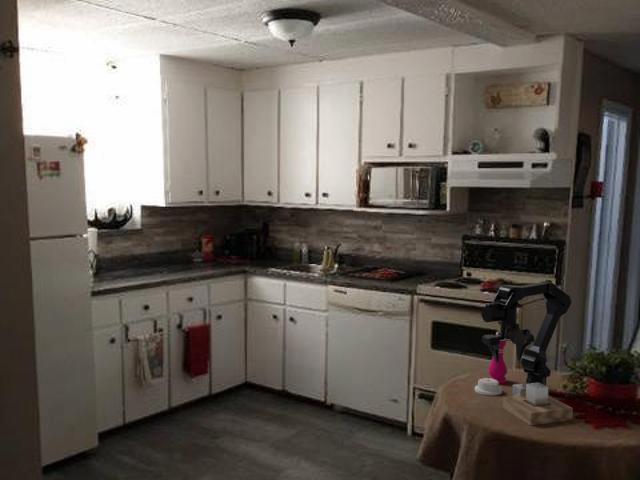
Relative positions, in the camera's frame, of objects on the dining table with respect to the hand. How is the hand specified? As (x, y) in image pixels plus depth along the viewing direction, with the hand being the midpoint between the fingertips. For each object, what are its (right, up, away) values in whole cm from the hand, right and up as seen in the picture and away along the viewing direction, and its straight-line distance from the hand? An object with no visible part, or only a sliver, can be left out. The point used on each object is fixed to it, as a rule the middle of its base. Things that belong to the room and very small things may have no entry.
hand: (507, 361), depth 223 cm
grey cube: (+4, -13, -3) cm, 14 cm away
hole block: (+4, -14, -17) cm, 23 cm away
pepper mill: (+1, -12, +18) cm, 22 cm away
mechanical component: (-5, -13, +6) cm, 16 cm away
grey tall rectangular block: (+4, -14, -17) cm, 23 cm away
